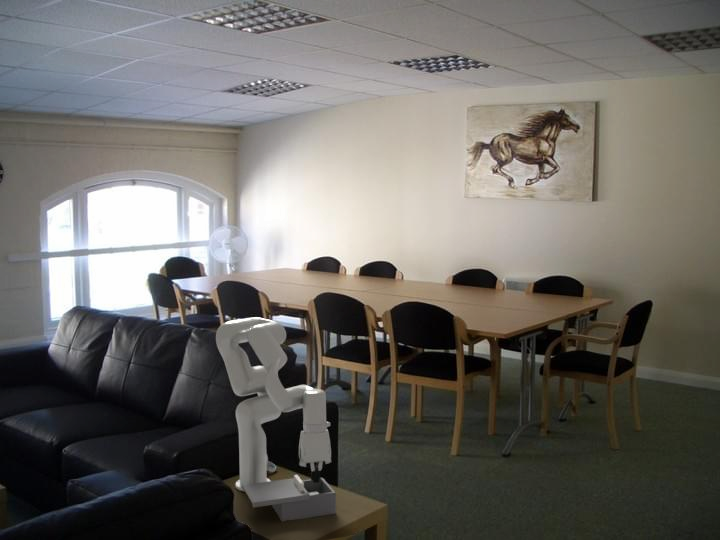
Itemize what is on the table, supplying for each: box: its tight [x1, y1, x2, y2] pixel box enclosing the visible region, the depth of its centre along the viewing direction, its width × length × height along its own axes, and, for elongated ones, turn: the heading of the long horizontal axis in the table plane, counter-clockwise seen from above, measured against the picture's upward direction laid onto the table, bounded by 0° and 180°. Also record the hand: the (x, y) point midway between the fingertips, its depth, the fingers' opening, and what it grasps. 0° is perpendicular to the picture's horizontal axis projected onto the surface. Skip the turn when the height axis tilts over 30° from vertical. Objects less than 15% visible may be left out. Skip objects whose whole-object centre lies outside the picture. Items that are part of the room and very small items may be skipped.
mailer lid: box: [243, 474, 310, 508], centre depth 243 cm, size 16×18×4 cm
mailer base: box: [271, 477, 337, 522], centre depth 247 cm, size 14×18×7 cm
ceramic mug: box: [266, 453, 278, 473], centre depth 281 cm, size 11×8×8 cm
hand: (315, 481), depth 247 cm, fingers closed
